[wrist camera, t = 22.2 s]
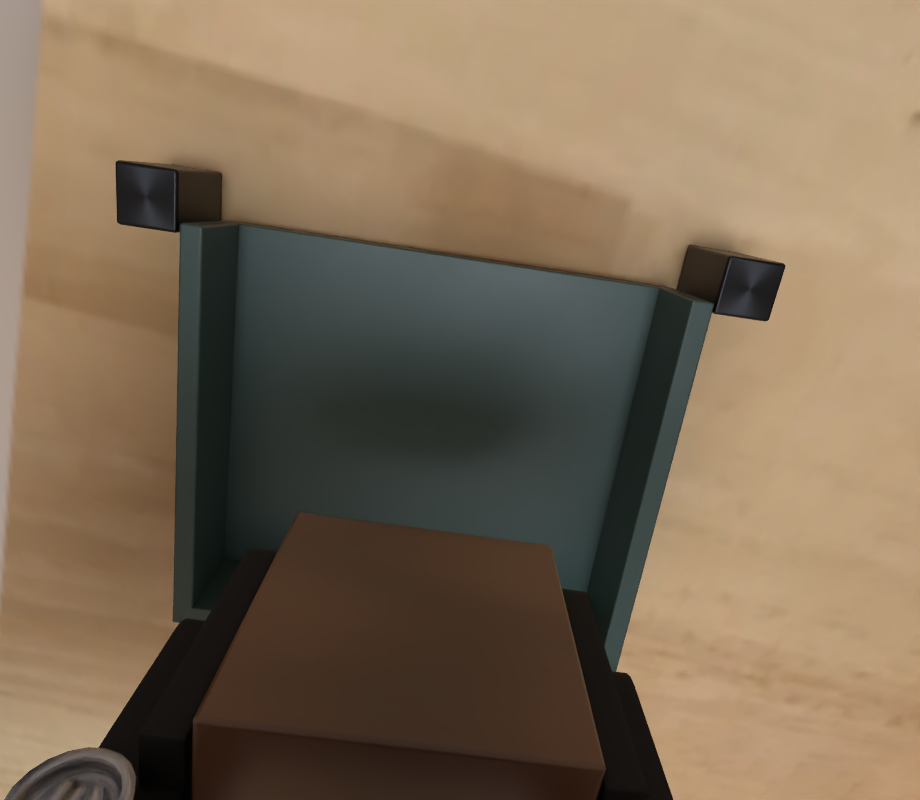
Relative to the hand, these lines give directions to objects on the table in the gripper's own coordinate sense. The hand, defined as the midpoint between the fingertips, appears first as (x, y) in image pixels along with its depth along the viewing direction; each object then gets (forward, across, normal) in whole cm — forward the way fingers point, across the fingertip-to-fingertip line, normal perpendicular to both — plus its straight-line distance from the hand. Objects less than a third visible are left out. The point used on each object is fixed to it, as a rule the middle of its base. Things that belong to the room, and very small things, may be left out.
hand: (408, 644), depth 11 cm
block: (0, 0, 0) cm, 0 cm away
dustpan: (+7, 0, +3) cm, 8 cm away
